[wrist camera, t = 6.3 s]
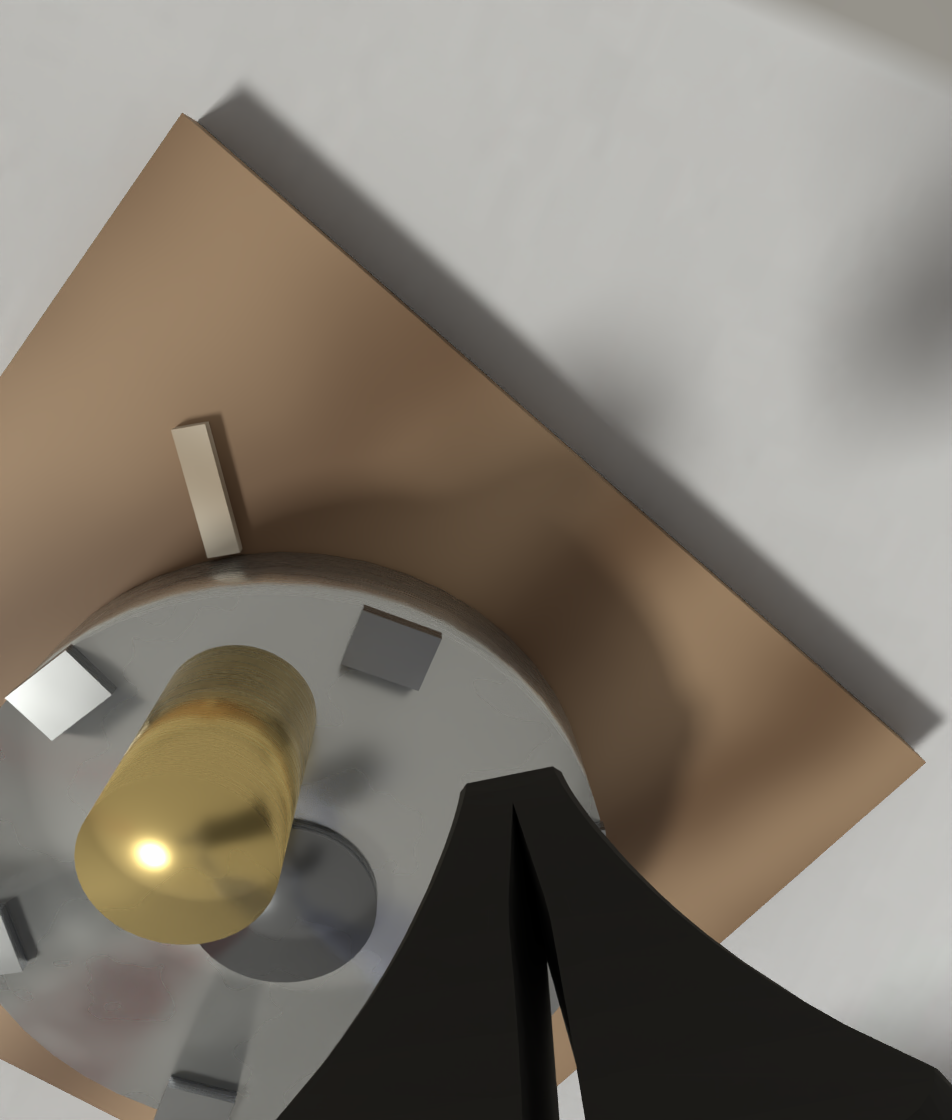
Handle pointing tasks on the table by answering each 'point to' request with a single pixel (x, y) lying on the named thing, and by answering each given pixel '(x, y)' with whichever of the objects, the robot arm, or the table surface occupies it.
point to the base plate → (399, 531)
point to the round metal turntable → (244, 816)
